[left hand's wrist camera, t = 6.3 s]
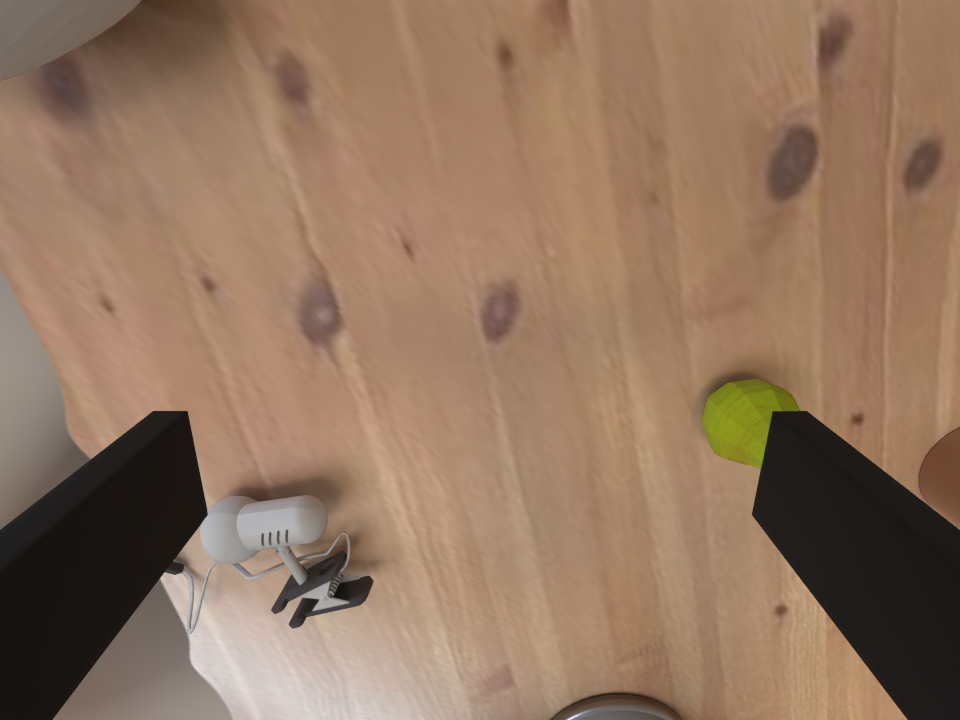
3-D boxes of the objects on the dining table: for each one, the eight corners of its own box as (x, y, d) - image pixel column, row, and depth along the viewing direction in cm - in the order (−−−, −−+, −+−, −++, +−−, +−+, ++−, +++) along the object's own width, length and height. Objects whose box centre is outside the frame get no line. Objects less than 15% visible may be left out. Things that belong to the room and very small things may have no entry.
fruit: (757, 351, 41) (862, 424, 30) (785, 416, 43) (893, 509, 32) (677, 390, 42) (749, 475, 31) (707, 452, 44) (785, 554, 33)
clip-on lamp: (220, 590, 53) (386, 574, 47) (176, 653, 47) (358, 643, 41) (148, 497, 48) (324, 466, 42) (90, 556, 42) (283, 529, 37)
